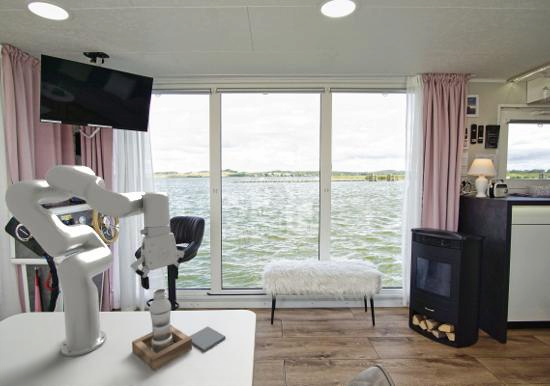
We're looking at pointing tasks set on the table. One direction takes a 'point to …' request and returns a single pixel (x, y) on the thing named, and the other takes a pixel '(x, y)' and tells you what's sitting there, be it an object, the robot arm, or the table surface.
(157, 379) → the table surface
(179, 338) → the wooden frame
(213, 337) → the rubber mat
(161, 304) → the plastic bottle
